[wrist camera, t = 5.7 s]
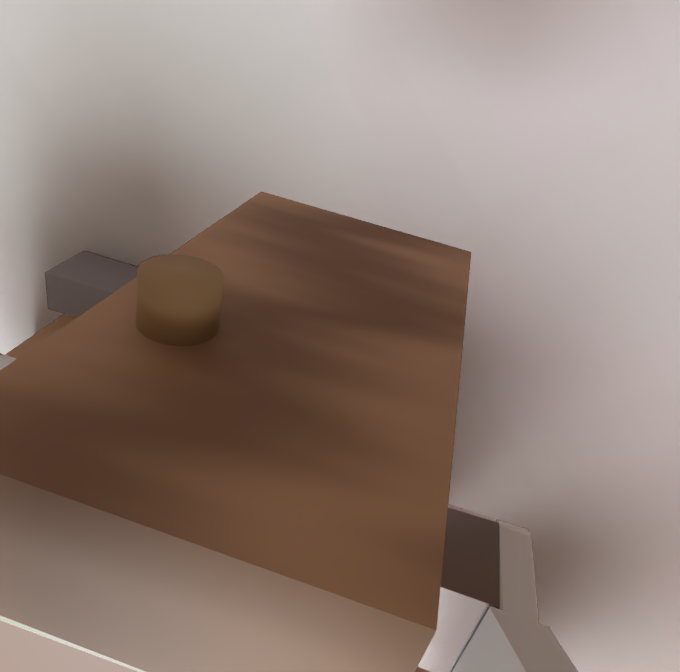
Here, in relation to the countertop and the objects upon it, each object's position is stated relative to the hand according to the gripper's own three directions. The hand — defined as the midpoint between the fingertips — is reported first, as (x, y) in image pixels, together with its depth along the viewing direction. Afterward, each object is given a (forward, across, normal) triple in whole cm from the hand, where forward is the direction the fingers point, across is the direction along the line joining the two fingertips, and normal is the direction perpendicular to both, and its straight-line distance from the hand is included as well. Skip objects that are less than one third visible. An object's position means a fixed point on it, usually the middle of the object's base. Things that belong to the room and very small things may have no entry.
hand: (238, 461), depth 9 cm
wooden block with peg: (+9, 0, 0) cm, 9 cm away
